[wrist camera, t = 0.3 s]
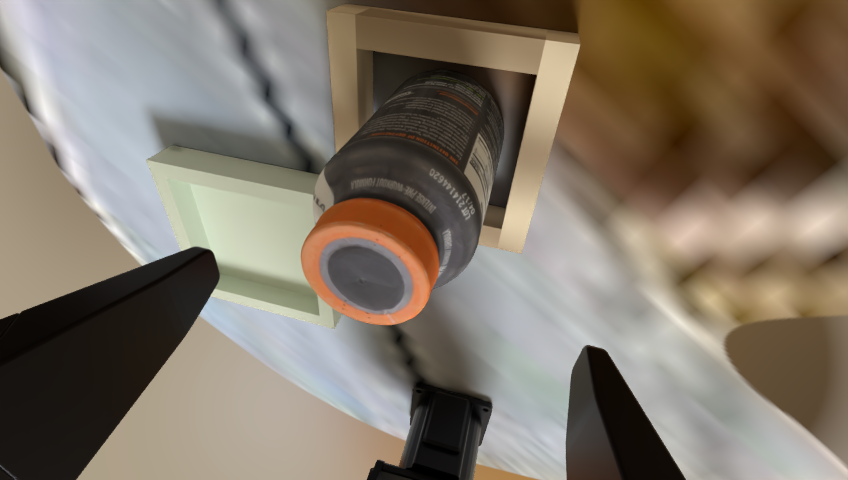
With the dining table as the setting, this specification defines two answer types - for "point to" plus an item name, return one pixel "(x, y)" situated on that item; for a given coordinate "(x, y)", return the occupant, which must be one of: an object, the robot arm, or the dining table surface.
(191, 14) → the dining table surface
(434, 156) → the pill bottle
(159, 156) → the tray
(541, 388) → the dining table surface
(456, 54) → the socket collar
